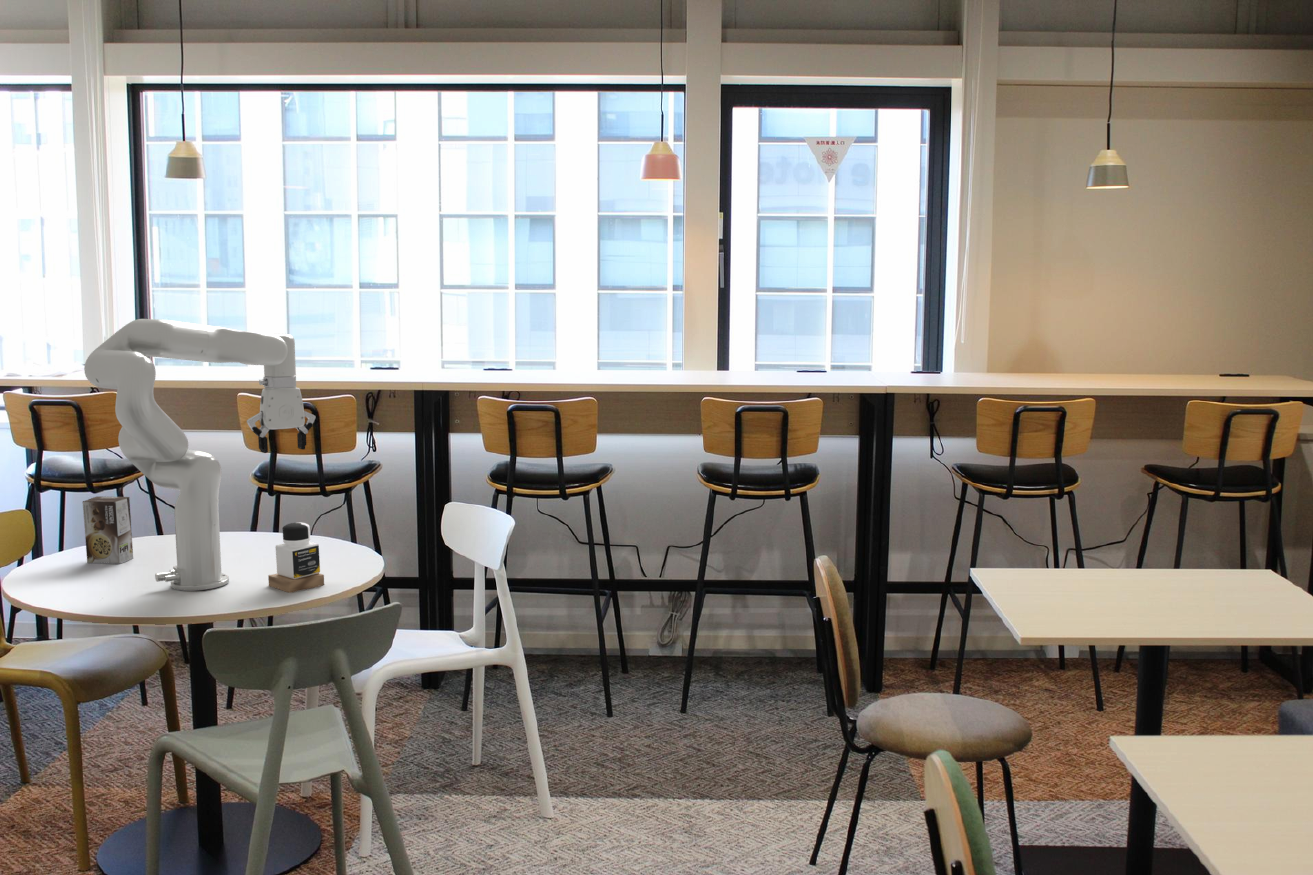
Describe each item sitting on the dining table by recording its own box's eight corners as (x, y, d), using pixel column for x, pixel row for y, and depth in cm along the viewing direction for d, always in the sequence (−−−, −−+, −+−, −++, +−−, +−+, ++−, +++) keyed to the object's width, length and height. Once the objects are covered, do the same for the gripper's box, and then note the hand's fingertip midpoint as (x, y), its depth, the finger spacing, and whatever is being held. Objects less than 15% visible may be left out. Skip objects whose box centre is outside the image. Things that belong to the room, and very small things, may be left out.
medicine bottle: (294, 579, 249) (291, 529, 247) (276, 574, 253) (273, 524, 251) (320, 573, 254) (318, 523, 252) (303, 568, 259) (300, 519, 257)
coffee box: (134, 558, 277) (131, 496, 275) (119, 564, 271) (116, 501, 269) (101, 557, 278) (97, 495, 276) (85, 563, 272) (81, 500, 270)
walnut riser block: (289, 594, 247) (289, 582, 247) (268, 587, 253) (268, 575, 253) (324, 587, 254) (323, 574, 254) (303, 580, 260) (302, 568, 259)
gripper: (251, 386, 263) (254, 455, 265) (319, 382, 274) (321, 449, 276) (240, 384, 268) (243, 452, 271) (307, 380, 280) (309, 446, 282)
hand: (283, 450), depth 273 cm, fingers open, 9 cm apart
